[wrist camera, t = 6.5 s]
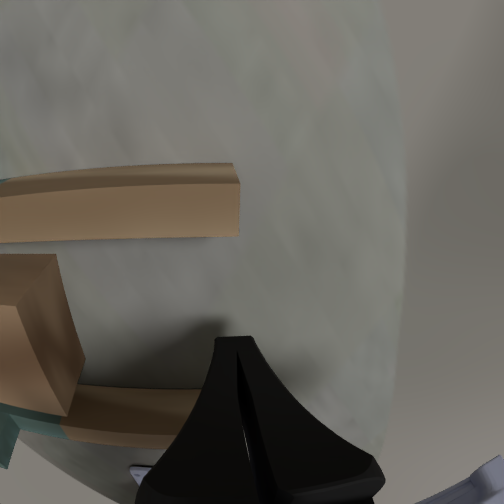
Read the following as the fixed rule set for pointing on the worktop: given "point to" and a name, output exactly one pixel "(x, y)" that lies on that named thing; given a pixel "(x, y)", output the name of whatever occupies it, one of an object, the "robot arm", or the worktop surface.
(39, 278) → the brown wooden block
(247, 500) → the robot arm
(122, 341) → the worktop surface
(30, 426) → the bay
